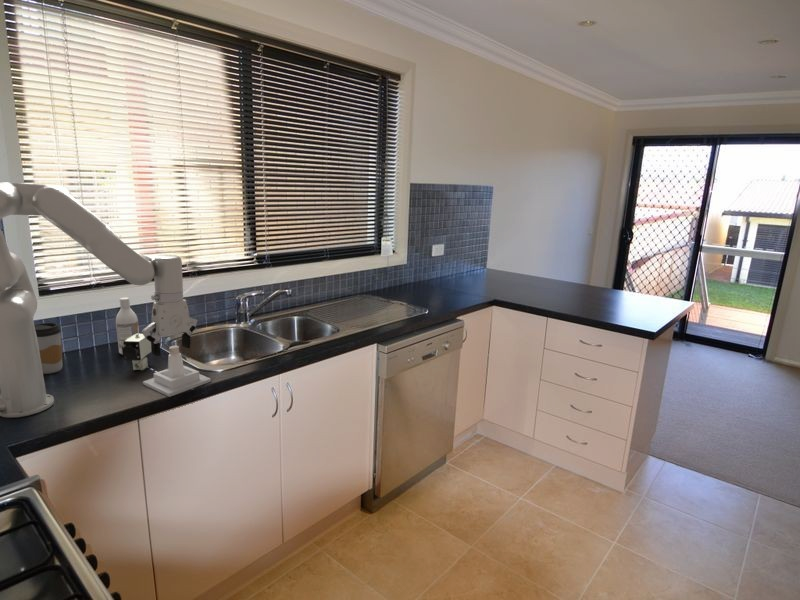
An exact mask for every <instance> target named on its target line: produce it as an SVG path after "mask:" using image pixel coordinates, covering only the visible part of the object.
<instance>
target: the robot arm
mask: <svg viewBox="0 0 800 600" xmlns="http://www.w3.org/2000/svg"><path fill="white" fill-rule="evenodd" d="M17 215H18V216H42V217H43V218H44V219H45V220H46V221H48V222H49V223H51V224H53V226H55V227H56V228H58V229H59V230H60V231H61V232H63V233H64V234H66V235H67V236H68V237H70V238H72V240H74V241H75V242H77V243H78V244H79V245H81V247H83V248H84V249H85V250H86V251H87V252H89V253H90V254H91V255H93V256H94V257H95V258H96V259H98V260H99V261H100V262H102V264H104V265H105V266H106V267H107V268H109V269H110V270H111V271H113V272H114V273H115V274H116V275H118V276H119V277H121V278H122V279H124V280H125V281H126V282H128V283H130V284H132V285H133V286H145V285H147V284H149V283H151V282H152V281H153V279H154V295H153V294H152V295H151V296H150V298H151V301H154V302H153V304H152V310H151V323H149V324H148V325H147V326H146V327H144V328H143V329H142V330H141V331H140V333H142V334H143V335H144V336H145V338H146V339H147V340H149V341H150V342H151V353H152V355H154V356H155V357H156V356H157V357H160V356H161V343H160V340H161V338H166V337H170V336H175V335H180V334H181V346H182V347H184V348H186V349H191V336H192V335H193V332H194V330H196V326H197V324H198V319H195V318H192V317H190V311H189V310H190V309H189V306H188V303H187V299H184V287H183V286H184V285H183V284H184V283H183V281H184V280H183V261H182V258H181V257H180V256H178V255H174V254H173V255H172V254H159V255H154V254H153V255H152V254H145V253H144V254H143V253H137V252H136V251H134V249H133V248H131V247H130V246H128V245H127V244H126V243H125V242H124V241H122V239H121V238H120V237H119V236H118V235H117V234H116V233H115V232H114V230H113V229H112V227H111V226H109V224H107V223H106V222H105V221H104V220H103V219H101V218H100V217H99V216H97V215H96V214H95V213H93V212H92V211H91V210H90V209H88V208H87V207H86V206H84V205H83V204H82V203H81V202H80V201H78V200H77V199H76V198H74V197H73V195H72V194H71V192H70V191H69V190H68V188H65V187H63V186H61V185H58V184H46V183H45V184H41V183H25V182H24V183H23V182H6V181H0V221H1V220H2V219H3V218H6V217H9V216H17ZM8 247H9V246H8V245H7V242H6V238H5V235H4V232H3V231H2V229H1V228H0V417H3V418H10V419H12V418H22V417H28V416H32V415H35V414H38V413H41V412H43V411H45V410H47V409H49V408H50V407H52V405H53V404H54V403H55V398H54V396H53V395H51V394H48V393H47V390H46V383H45V379H44V374H43V371H42V364H41V358H40V352H39V346H38V340H37V335H36V331H35V327H34V325H35V321H34V320H35V319H34V316H35V314H36V312H37V309H38V301H37V297H36V293H35V292H34V289H33V285H32V282H31V280H30V277H29V274H28V270H27V269H26V266H25V264H24V262H23V261H22V259H21V257H19V256H18V254H15V253H13V252H11V251H10V249H9V248H8ZM151 332H152V333H151ZM149 333H151V336H150V334H149Z"/></svg>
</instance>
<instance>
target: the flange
mask: <svg viewBox="0 0 800 600" xmlns="http://www.w3.org/2000/svg"><path fill="white" fill-rule="evenodd" d="M183 366H184V371H185V375H183V376H180V377H177V378H174V379H171V378H169V377H168V368H165V369H164V370H160V371H156V372H154V373H153V377H152V378H149V379H145V380H143V381H142V385H144V386H146V387H147V388H149V389H152V390H153V391H156V392H158V393H160V394H163V396H167V397H169V398H171V397H172V396H176V395H179V394H180V393H185V392H186V391H189V390H191V389H194V388H196V387H200V386H202V385H206V384H208V383H210V382H211V380H212V379H211V378H210V377H209V376H208V377H207V376H205V375H203V374H201V373H200V371H199V370H196V369H194V368H192V367H189V366H186V365H185V364H183Z"/></svg>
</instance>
